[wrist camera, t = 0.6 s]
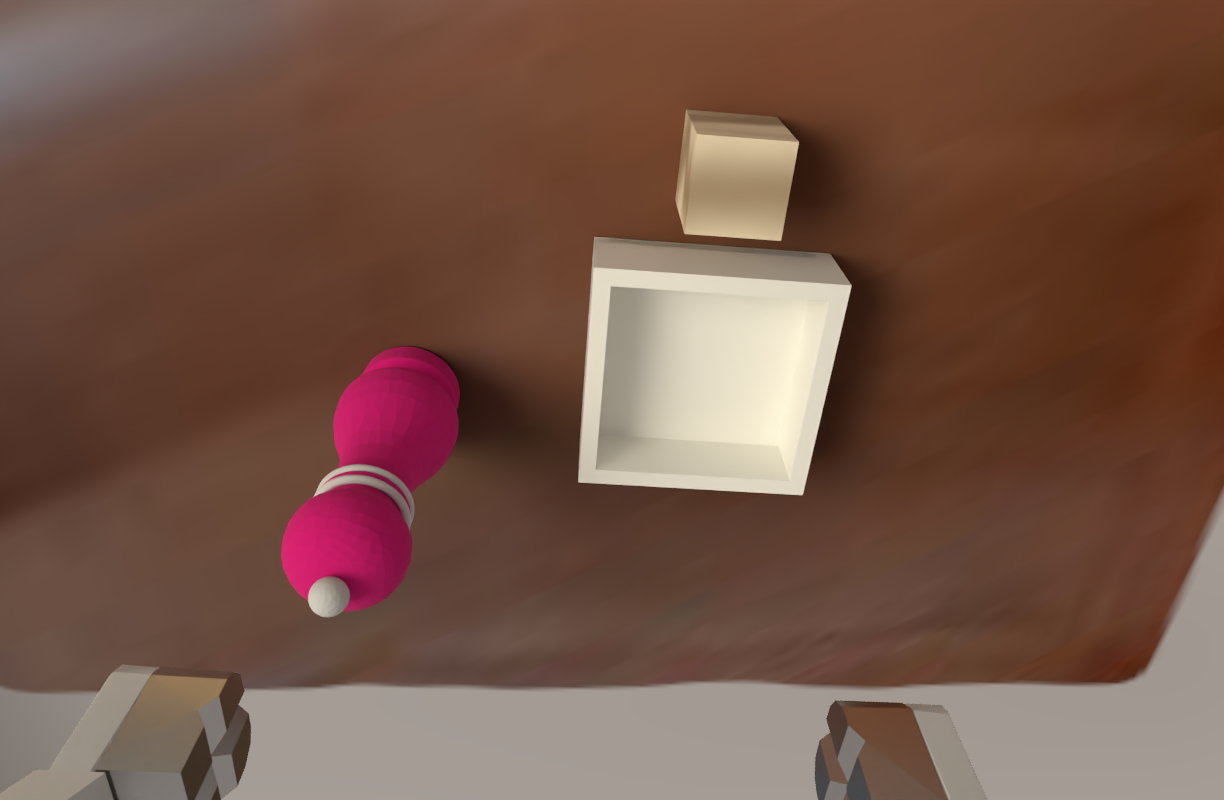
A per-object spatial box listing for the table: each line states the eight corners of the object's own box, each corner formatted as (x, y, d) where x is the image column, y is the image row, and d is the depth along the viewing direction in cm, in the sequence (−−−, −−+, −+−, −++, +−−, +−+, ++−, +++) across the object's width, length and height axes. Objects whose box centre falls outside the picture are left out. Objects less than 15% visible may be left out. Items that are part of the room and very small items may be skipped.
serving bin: (594, 236, 50) (593, 267, 45) (829, 253, 50) (851, 285, 46) (579, 438, 56) (578, 482, 52) (787, 451, 57) (802, 495, 53)
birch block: (686, 109, 46) (697, 134, 41) (776, 116, 46) (799, 142, 41) (675, 199, 49) (684, 233, 43) (761, 206, 49) (780, 240, 44)
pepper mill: (348, 335, 53) (225, 543, 35) (466, 340, 53) (400, 548, 35) (359, 434, 56) (252, 667, 39) (469, 438, 56) (412, 671, 39)
